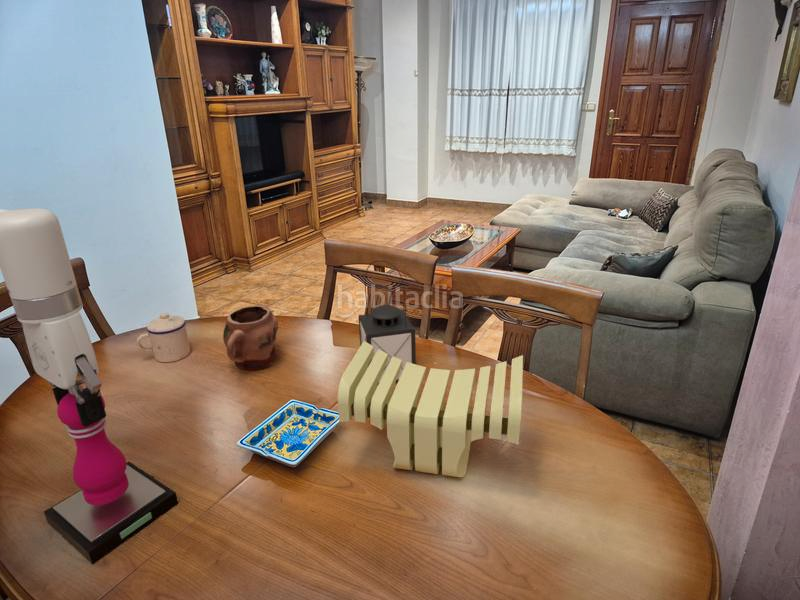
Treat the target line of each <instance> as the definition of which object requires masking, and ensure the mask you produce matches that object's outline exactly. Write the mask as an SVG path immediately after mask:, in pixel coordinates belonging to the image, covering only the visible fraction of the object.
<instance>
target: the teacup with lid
mask: <svg viewBox="0 0 800 600" xmlns="http://www.w3.org/2000/svg"><path fill="white" fill-rule="evenodd" d="M186 324H187V322H186V320H185V318H184V317H182V316H180V315H169V313H168V312H162V313H160V314H159V317H157V318H156V319H153V320H151V321H150V322H149V323H148V324H147V326H146V331H147V332H146V333H141V334H140V335H139V336H138V337H137V338H136V345H137V347H138V349H140V350H141V351H142V352H145V353H151V352H153V357H154V359H155V361H157V362H159V363H173V362H177V361H181V360H183V359H185V358H186V357H188V356H189V355H190V353H191V346H190V341H189V337H188V332H187V327H186ZM148 337H149V339H150V344H151V347H144V346H143V345H142V344H141V340H142V339H144V338H148Z"/></svg>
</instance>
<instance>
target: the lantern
mask: <svg viewBox="0 0 800 600" xmlns="http://www.w3.org/2000/svg"><path fill="white" fill-rule="evenodd" d="M377 262H381V263H382V262H383V263H386V264H388V265H391V266H392V267H393V268H394V269H395V270H396V271H397V272H398V274H399V277H400V279H401V283H402V287H403V289H402V290H403V298H404V302H403V303H404V309H399V307H397V306H394V305H390V304H381V305H378V306H376V307H374V308H373V309H371V310H370V312H369V308H368V297H367V273H368V270H369V268H370V267H371V265H372V264H374V263H377ZM405 289H406V288H405V284H404V279H403V277H402V274H401V272H400V271H399V269H398V268H397V267H396V266H395V265H394V264H393V263H390V261H389V262H388V261H386V260H374V261H373V262H371V263H370V264H369V265H368V266H367V268H366V271H365V275H364V293H365V294H364V295H365V303H366V314H358V315H357V316H358V332H359V345H360V346H361V345H362V343H363V342H364V341H365V342H367V343H369V344H370V345H372V346H374V355H373V357H372V359H373V358H374V356H375V354H376V352H377V351H378V349H379V350H381V351H383V352H385V353H387V354H388V361H387V363H386V365H385V368H384V370H383V372H382V374H381V377H380V379H379V382H378V385H379V383H380V381H381V379H382V377H383V375H384V372H385V370H386V368H387V366H388V364H389V362H390V360H391V358H392V356H394V357H396V358H398V359H401V360H402V367H401V370H400V372H399V375H398V377H397V380H396V383H395V384H397V383H398V381H399V379H400V377H401V374H402V372H403V370H404V367H405V365H406V363H407V362H409V363H412V364H415V365H417V364H416V362H417V361H416V360H417V359H416V328H415V327H414V326H413V324H412V323H411V321H410V320H409V318H408V316H407V308H406V307H407V305H406V290H405ZM360 346H359V347H360ZM372 359H371V361H372ZM371 361H370V363H371ZM370 363H369V365H370ZM369 365H368V367H369ZM368 367H367V368H368ZM366 370H367V369H366ZM365 372H366V371H365ZM378 385H377V387H378Z"/></svg>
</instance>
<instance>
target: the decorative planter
mask: <svg viewBox="0 0 800 600" xmlns="http://www.w3.org/2000/svg"><path fill="white" fill-rule="evenodd" d="M225 322H226V323H225V326H224V328H223V332H222V333H223V334H222V335H223V336H222V338H223V343H224V345H225V347H226V355H227V357H228V358H229V359H230V360H231V361H232V362H233V363H234V365H235V366H236V367H237V368H238V369H241V370H245V371H256V370H262V369H265V368H267V367H268V366H270V365H272V364H273V362H274V361H275V359H276V358H277V352H276V345H275V342H276V339H277V333H278V331H279V320H278V318H277V317H276V316H275V315H274V314H273V312H272V311H271V309H270V307H269V306H268V305H265V304H254V305H250V306H249V305H247V306H243V307H239V309H236V310H235V311H233V312H231V313H230V314H229V315H228V316H227V318H226V321H225Z"/></svg>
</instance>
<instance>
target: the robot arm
mask: <svg viewBox="0 0 800 600" xmlns="http://www.w3.org/2000/svg"><path fill="white" fill-rule="evenodd" d="M73 269H74V268H73V265H72V263H71V259H70V256H69V252H68V248H67V245H66V241H65V238H64V234H63V230H62V227H61V224H60V221H59V218H58V217H57V215H56V213H54V212H53V211H51V210H49V209H45V208H36V207H35V208H22V209H14V210H11V209H4V208H0V271H1V274H2V276H3V280H4V283H5V286H6V289H7V291H8V294H9V297H10V302H11V304H12V307H13V309H14V313H15V316H16V318H17V321H18V322H20V323H21V326H22V331H23V334H24V339H25V344H26V346H27V349H28V354H29V357H30V360H31V365H32V367H33V370H34V372H35V373H36V374H37V375H38V376H39V377H41V378H43V379H44V380H46V381H47V382H49V385H50V387H52V389H51V390H52V394H53V395H54V400H55V402H56V405H57V406H58V404H59V402H60V401H61V399H62V398H63V397H64V396H65V395H67V394H68V393H69V390H68V389H69V388H70V387H71V388H72V391H73V393H74V395H75V397H76V399H77V401H78V402H77V403H75V405H76V408H77V411H78V414H79V417H80V420H81V424H82V425H83V426H84V427H87V426H89V425H91V424H93V423H95V422H97V421H99V420H101V419H103V418H105V419H106V417H107V413H106V408H105V409H104V406H103V402H102V399H101V396H102V392H101V387H102V381H101V380H100V378H99V377H98V376H99V374H100V367H99V364H98V359H97V355H96V352H95V349H94V346H93V343H92V340H91V338H90V335H89V332H88V329H87V327H86V324H85V321H84V319H83V317H82V315H81V312H80V311H81V310H82V309H83V307H84V304H83V302H82V297H81V294H80V291H79V288H78V284H77V280H76V276H75V273H74V270H73ZM79 376H81V378H80V379H78V380H77V378H78V377H79ZM83 384H85V387H84V388H83V391H82V393H81V391H80V389H79V387H78V386H79V385H83Z"/></svg>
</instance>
